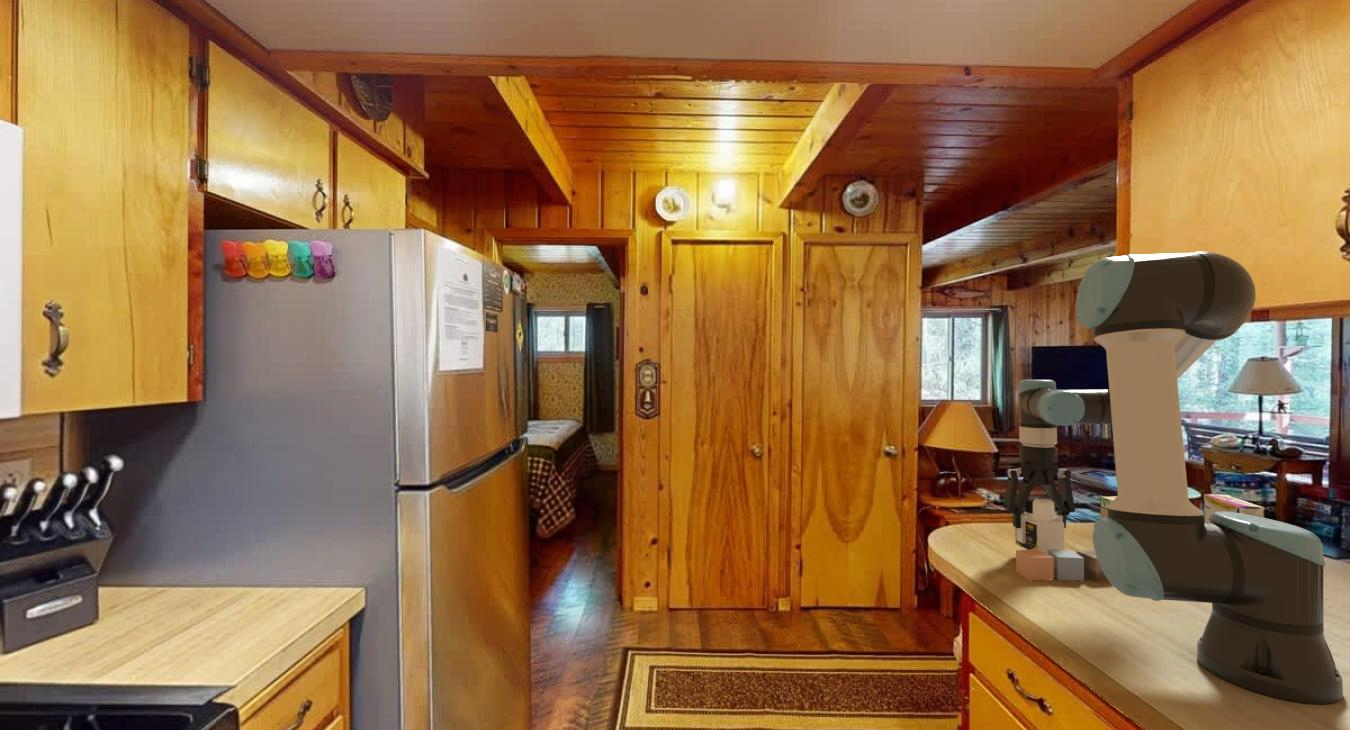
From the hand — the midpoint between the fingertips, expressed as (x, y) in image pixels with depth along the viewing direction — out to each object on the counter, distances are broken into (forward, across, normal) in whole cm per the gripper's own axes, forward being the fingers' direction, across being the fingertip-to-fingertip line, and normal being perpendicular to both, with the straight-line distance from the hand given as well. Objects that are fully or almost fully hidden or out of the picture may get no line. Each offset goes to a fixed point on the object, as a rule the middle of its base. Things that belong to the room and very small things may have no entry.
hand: (1039, 541), depth 136 cm
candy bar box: (+4, -35, +10) cm, 37 cm away
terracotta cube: (+4, +7, +10) cm, 13 cm away
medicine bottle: (+2, 0, 0) cm, 2 cm away
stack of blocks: (+4, -33, -14) cm, 36 cm away
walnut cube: (+4, -6, +10) cm, 13 cm away
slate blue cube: (+4, 0, +10) cm, 11 cm away
